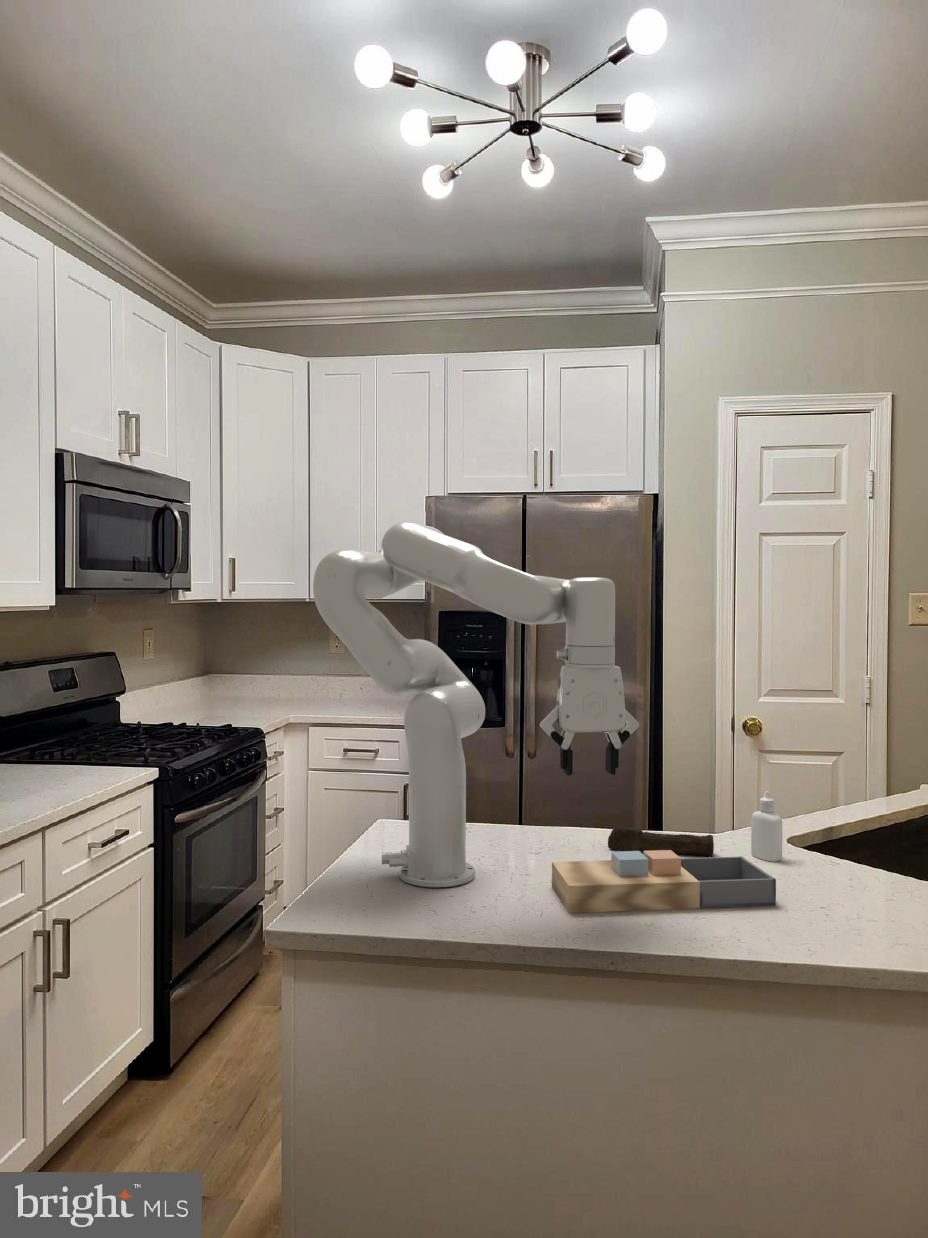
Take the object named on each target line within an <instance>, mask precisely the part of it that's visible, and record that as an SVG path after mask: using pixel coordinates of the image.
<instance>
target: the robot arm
mask: <svg viewBox="0 0 928 1238" xmlns="http://www.w3.org/2000/svg"><path fill="white" fill-rule="evenodd" d="M380 546H381V547H380V548H381V549H379V550H377V551H368V550H359V549H350V548H349V549H339V550H334V551H332V552H330V553H328V554H327V555H325V556H323V558H322V559H320V561H319V563H318V564H317V566H316V569H315V572H314V576H313V582H312V589H313V590H312V591H313V592H312V593H313V599H314V602H315V606H316V608H317V611H318V613H319V614H320V616H321V617H322V619H323V622H324V623H325V624H326V625H327V626H328V628H329V629H330V630H331V631H332V632H333V633H334V634H335V635H336V637H338V639H339V640H340V641H341V642H342V643H343V644H344V646H345V647H346V648H347V649H348V651H349V652H350V653H351V654H352V656H353V657H354V658H355V659H356V661H357V662H358V663H359V664H360V666H362V668H363V669H364V670H365V672H366V673H367V674H368V675H369V676H370V677H371V679H372V680H373V681H374V683H376V685H377V686H378V687H379V688H380V689H381V690H382V691H383V692H384V693H386V694H388V695H390V696H393V697H402V696H408V695H413V694H414V696H413V697H412V698H411V700H410V701H409V702H408V705H407V706H406V708H405V712H404V716H403V717H404V718H403V719H404V720H403V724H404V725H403V727H404V733H405V738H406V739H405V740H406V745H407V746H406V747H407V756H408V804H409V805H408V845H407V844H406V847H405V849H404V850H403V849H402V850H400V852H381V865H388V866H389V868H398V867H400V869H399V878H400V880H402V881H403V882H405V883H407V884H409V885H413V886H417V887H424V888H448V887H457V886H460V885H461V886H462V885H465V884H467V883H469V882H471V881H472V880H473V879H474V878H475V877H476V869H475V867H474V866H473V865H472V864H471V863H467V862H466V859H467V858H466V857H467V856H466V853H467V851H466V850H467V849H466V845H467V844H466V841H467V839H466V838H467V837H466V836H467V835H466V833H467V832H466V831H467V823H466V822H467V820H466V819H467V816H466V815H467V809H466V808H467V803H466V802H467V772H466V771H467V768H466V759H465V754H464V753H465V752H464V748H463V743H462V739H463V738H466V737H468V736H471V735H473V734H474V733H476V732H477V731H478V730H479V729H480V728H481V727H482V725H483V723H484V721H485V718H486V705H485V702H484V699H483V697H482V695H481V694H480V692H479V690H478V689H477V688H476V686H475V685H474V684H473V683H472V681H470V680H469V678H468V677H467V676H466V675H465V674H464V673H463V672H462V671H461V669H460V668H459V667H458V666H457V665H456V664H455V663H454V661H453V660H452V659H451V658H450V657H449V656H448V655H447V653H446V652H444V650H442V649H441V648H440V647H439V646H438V645H436V644H435V643H433V642H431V641H429V640H425V639H421V638H416V639H415V638H414V639H409V638H406V637H405V636H403V634H401V633H400V632H399V631H398V630H397V628H395V626H394V625H392V623H391V622H390V620H389V619H388V618H387V617H386V616H385V615H384V614H383V612H381V611H380V610H379V609H377V608H376V607H375V606H373V604H371V603H370V602H369V601H367V600H369V599H371V600H373V599H374V600H376V599H383V598H385V597H388V596H391V595H393V594H395V593H397V592H399V591H402V590H404V589H406V588H408V587H410V586H412V585H414V584H416V583H419V582H421V581H424V582H426V583H427V584H431V585H433V586H436V587H439V588H441V589H443V590H445V591H447V592H450V593H453V594H454V595H457V596H459V597H460V598H461V599H464V600H467V601H469V602H470V603H472V604H474V605H476V606H478V607H480V608H483V609H485V610H487V611H489V612H491V613H494V614H497V615H500V616H502V617H504V618H506V619H509V620H512V621H515V622H516V623H521V624H523V625H524V624H525V625H529V626H530V625H532V626H533V625H551V624H553V625H554V624H559V623H565V645H564V648H561V649H557V650H556V659H561V660H563V661H564V663H565V665H561V668H560V672H559V678H558V683H557V695H556V705H555V707H554V708H553V709H552V710H551V711H550V712H549V713H548V714H547V716H545V717H544V719H543V720H541V722H539V726H540V728H541V729H542V730H543V731H544V732H545V733H546V734H547V735H548V736H549V738H551V739H552V740H553V742H555V743H556V745H557V746H559V747H560V751H559V752H560V756H559V757H560V760H559V761H560V762H559V764H560V766H559V767H560V770H563V773H564V774H565V775H566V776H568V777H569V776H572V775H573V762H574V761H573V758H574V757H573V753H574V751H573V749H571V743H572V741H573V738H574V736H575V734H576V733H604V734H605V735H606V738H607V741H608V744H607V745H606V746H605V771H606V772H607V773H608V774H610V775H611V776H616V773H617V771H616V769H619V767H620V766H619V762H620V761H619V759H620V758H619V757H620V755H619V754H620V753H619V751H620V750H619V749H621V748H622V745H623V744H624V743H625V742H626V741H627V740H628V739H629V738H630V736H631V735H632V734H633V733H634V732H635V731H636V730H637V729H638V728H639V727H640V722H639V721H638V720H637V719H636V718H635V717H634V716H633V715H632V713H630V712H629V711H628V710H627V709H626V704H625V693H624V692H625V691H624V682H623V675H622V670H621V666H617V665H615V663H616V661H615V659H616V647H615V644H616V586H615V583H614V581H613V580H612V579H610V578H606V577H594V576H593V577H586V576H585V577H574V578H572V579H566V578H565V579H564V578H557V577H552V576H545V575H533V574H530V573H528V572H526V571H525V572H524V571H523V570H519V569H517V568H514V567H511V566H509V565H506V564H504V563H501V562H499V561H496V560H494V559H491V558H490V557H488V556H487V555H485V554H484V553H483V551H482V550H481V548H479V547H478V546H476V545H474V544H473V543H472V544H471V543H468V542H465V541H463V540H460V539H457V538H455V537H452V536H449V535H446V534H444V533H443V532H442V531H441V530H439V529H438V528H435V527H433V526H429V525H425V524H420V523H416V522H407V521H405V522H404V521H403V522H399V523H397V524H394V525H392V526H391V527H389V528H388V529H387V531H386V532H385V534H384V535H383V537H382V539H381V544H380ZM555 722H556V725H557V726H558V727H559V728H561V729H562V731H561V734H560V733H558V731H556V729H555V728H554V727H553V724H555Z"/></svg>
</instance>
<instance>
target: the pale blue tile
mask: <svg viewBox="0 0 928 1238" xmlns="http://www.w3.org/2000/svg"><path fill="white" fill-rule="evenodd" d="M610 855H611V856H610V857H611V859H610V860H611V868H612V869H613V870H614V871H615V872H616V873H617V874H618V875H619V876H644V875H648V859H647V858H646V857H645V856H644V855H643V852H642V851H641V852H640V851H618V850H617V851H611V854H610Z"/></svg>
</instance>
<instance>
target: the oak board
mask: <svg viewBox="0 0 928 1238" xmlns="http://www.w3.org/2000/svg"><path fill="white" fill-rule="evenodd" d="M551 888H552V889H553V891H554V892H555V894H556V895H557V896H558V899H559V900H560V902H561V903H562V905H563V906H564V908H565V909H566V911H567V912H568V913H570V914H575V913H580V914H581V913H602V912H603V913H605V912H606V913H607V912H608V913H609V912H629V911H630V912H631V911H637V912H638V911H657V910H658V911H659V910H661V911H662V910H688V909H690V910H691V909H701V908H700V882H699V881H698V880H697V879H696V878H695V877H693V876H692V875H691V874H690V873H689V872H687V871H686V870H685V869H684V868H683V867H681V874H677V875H652V874H651V873H650V872H649V871H648V875H644V876H619V875H618V874H617V873H616V872H615V871H614V870H613V869H612V868H611V859H609V860H584V861H583V860H579V861H578V860H575V861H572V860H571V861H551Z"/></svg>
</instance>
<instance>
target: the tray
mask: <svg viewBox="0 0 928 1238" xmlns="http://www.w3.org/2000/svg"><path fill="white" fill-rule="evenodd" d="M680 858H681V857H680ZM681 867H683V868H684V869H685V870H686V871H687V872H689V873H690V874H691V875H692V876H693V877H695V878H696V879H697V880H698V881H699V882H700V908H699V909H715V908H716V909H717V908H718V909H721V908H741V907H742V908H745V907H746V908H747V907H774V906H776V904H777V903H776V902H777V879H776V878H775V877H774V876H772V875H770V874H769V873H767V872H766V871H764V870H763V869H761V868H760V867H758V866H757V865H755V864H754V863H752V862H751V861H749V860H748V859H746V858H745V857H743V856H720V857H719V856H718V857H717V856H712V857H709V856H708V857H683V858H681Z"/></svg>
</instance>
